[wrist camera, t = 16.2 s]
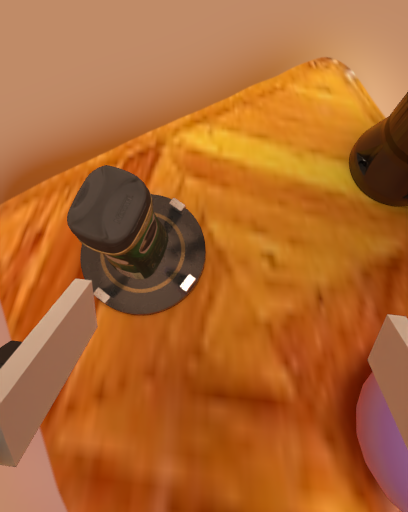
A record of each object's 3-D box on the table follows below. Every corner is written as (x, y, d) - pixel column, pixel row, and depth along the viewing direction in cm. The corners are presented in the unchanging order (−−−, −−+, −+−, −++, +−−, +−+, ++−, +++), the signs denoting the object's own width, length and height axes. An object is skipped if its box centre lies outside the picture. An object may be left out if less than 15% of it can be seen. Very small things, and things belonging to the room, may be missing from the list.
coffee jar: (131, 216, 53) (90, 149, 35) (175, 232, 52) (156, 171, 34) (105, 269, 51) (47, 226, 33) (151, 287, 50) (117, 252, 32)
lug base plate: (229, 241, 53) (230, 235, 50) (153, 341, 49) (149, 341, 46) (137, 177, 57) (133, 168, 54) (58, 265, 53) (50, 261, 50)
